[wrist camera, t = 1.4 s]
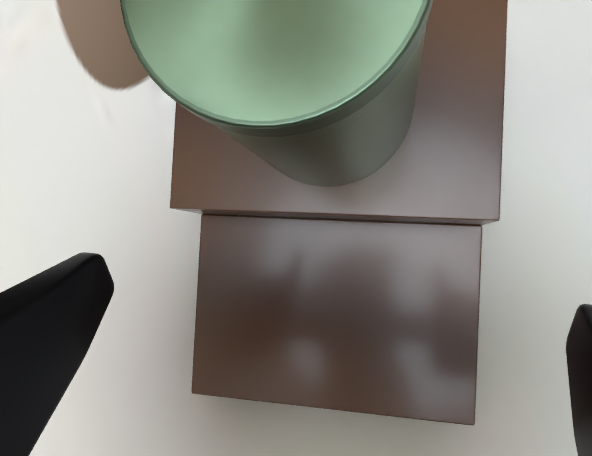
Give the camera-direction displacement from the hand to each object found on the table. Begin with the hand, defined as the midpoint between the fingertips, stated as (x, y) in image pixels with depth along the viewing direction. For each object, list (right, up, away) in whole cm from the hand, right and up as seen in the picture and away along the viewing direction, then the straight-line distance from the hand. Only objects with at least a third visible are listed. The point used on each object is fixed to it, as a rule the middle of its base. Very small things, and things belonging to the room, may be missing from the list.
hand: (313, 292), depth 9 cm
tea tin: (+1, +6, +9) cm, 10 cm away
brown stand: (+2, +2, +13) cm, 14 cm away
